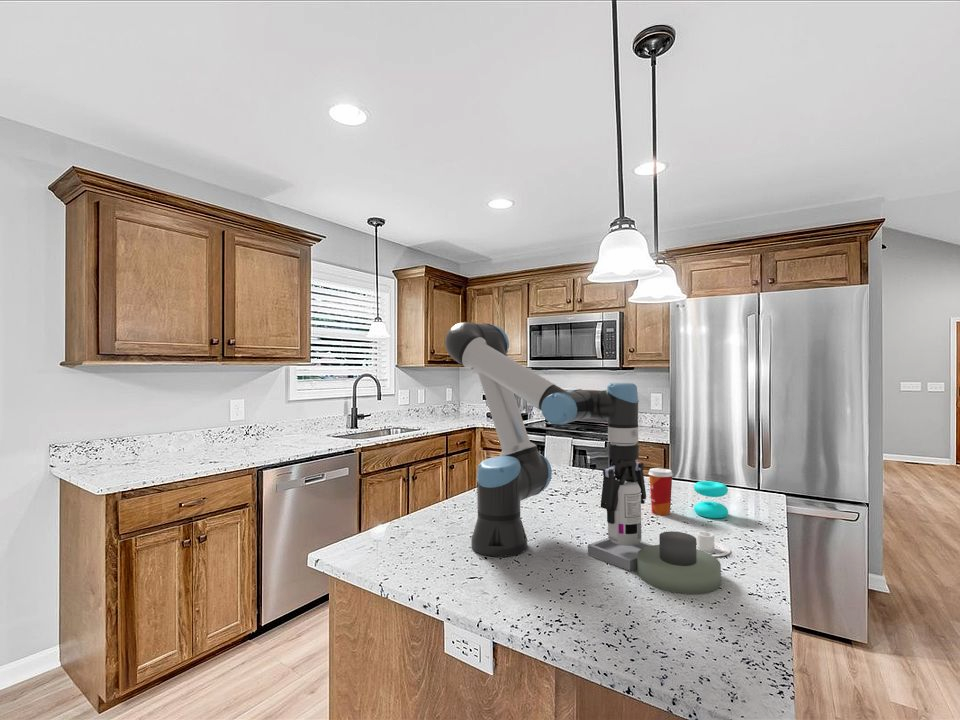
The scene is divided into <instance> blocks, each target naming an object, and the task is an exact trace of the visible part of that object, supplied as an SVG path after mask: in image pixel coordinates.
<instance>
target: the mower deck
mask: <svg viewBox="0 0 960 720" xmlns="http://www.w3.org/2000/svg"><path fill="white" fill-rule="evenodd" d="M696 539H697V537H695V536H694V535H692V534H691V533H686V532H681V531H672V530H671V531H664V532H661V533H659V544H654V545H653V544H651V543H647V542H645V541H642V540H641V541H640V542H639V543H638V544H637V545H632V546H624V545H618V544H615V543H613V542H612V541H611V540H610V539H609V538H608V537H606V538H604V539H601V540H598V541H595V542H591V543H589V544H587V555H588V556H590V555H591V557H594V558H596V559H598V560H601V561H603V562H606V563H608V564H610V565H614V566H616V567H619V568H621V569H623V568H624V569H623V570H626V571H628V570H629V572H631V570H632V571H634V570H636V569H637V576H638V577H639V578H640V579H641V581H643V582H645V583H647V584H648V585H649V586H650V585H651V586H652V587H654V588H657V589H659V590H663V591H667V592H670V593H676V594H683V595H702V594H709V593H713V592H715V591H717V590H718V589H719V588H720V587H721V585H722V577H721V576H722V566H721V561H719V559H718V558H716V557H714V556H712V555H713V554H710V553H709V552H707V551H702V550H699V549H698V548H697V543H696ZM633 569H634V570H633Z"/></svg>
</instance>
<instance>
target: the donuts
mask: <svg viewBox="0 0 960 720" xmlns="http://www.w3.org/2000/svg"><path fill="white" fill-rule="evenodd" d="M693 488H694V491H695V492H696V494H699V495H700V496H703V497H707V498H719V497H720V498H721V497H724V496H726V495H727V494H728V492H729V487H727V485H726V484H724V483H721V482H717V481H710V480H702V481H697V482H695V483H694V485H693ZM693 508H694V509H693V510H694V512H695V513H696V515H698V516H700V517H703V518H708V519H723V518H726V517H727V516H728V514H729V510H728V508H727V507H726V506H725V504H722V503H720V502H717V501H707V500H706V501H700V502H697V503H696V504H695V505H694V506H693Z"/></svg>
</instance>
